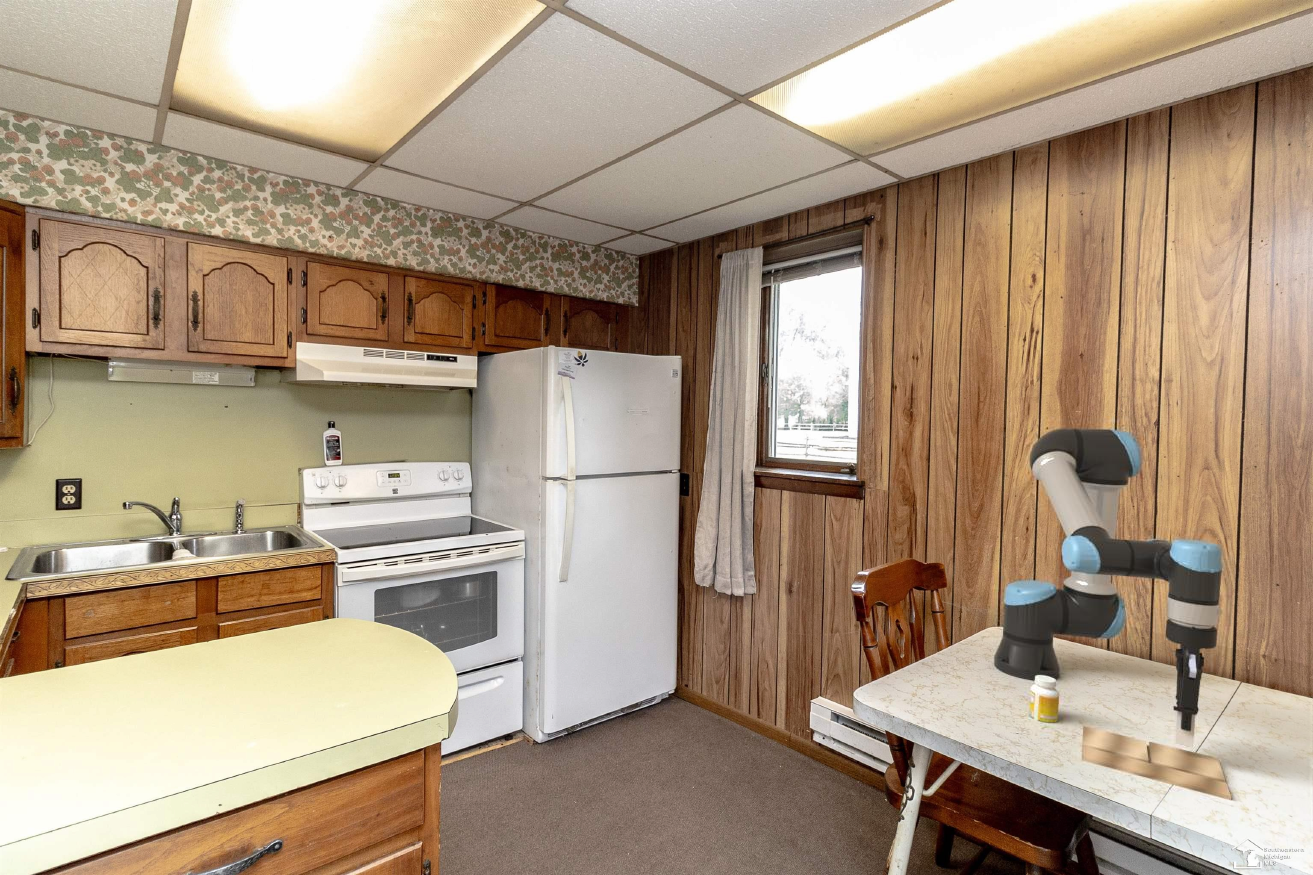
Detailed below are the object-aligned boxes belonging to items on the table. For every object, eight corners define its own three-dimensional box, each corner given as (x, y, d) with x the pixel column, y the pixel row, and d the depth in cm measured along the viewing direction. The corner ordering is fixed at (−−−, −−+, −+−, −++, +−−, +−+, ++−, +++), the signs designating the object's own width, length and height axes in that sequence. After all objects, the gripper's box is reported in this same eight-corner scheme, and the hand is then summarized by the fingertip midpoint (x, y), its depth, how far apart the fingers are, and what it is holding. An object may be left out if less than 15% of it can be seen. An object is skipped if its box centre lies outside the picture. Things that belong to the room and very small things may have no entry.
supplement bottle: (1023, 718, 144) (1025, 675, 144) (1039, 714, 146) (1041, 672, 146) (1047, 729, 139) (1049, 684, 139) (1063, 725, 141) (1065, 681, 141)
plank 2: (1151, 768, 123) (1151, 761, 123) (1148, 748, 131) (1149, 741, 131) (1224, 788, 117) (1225, 780, 117) (1217, 765, 125) (1217, 758, 125)
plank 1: (1081, 750, 129) (1082, 743, 129) (1082, 732, 137) (1083, 725, 137) (1148, 768, 124) (1148, 760, 124) (1145, 747, 131) (1145, 741, 131)
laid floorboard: (1081, 763, 124) (1081, 756, 124) (1081, 752, 129) (1082, 745, 129) (1230, 804, 112) (1231, 796, 112) (1225, 790, 117) (1225, 782, 117)
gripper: (1222, 635, 117) (1214, 765, 118) (1212, 618, 128) (1204, 736, 129) (1169, 626, 121) (1161, 751, 122) (1163, 610, 132) (1156, 725, 133)
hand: (1183, 744), depth 126 cm, fingers closed
